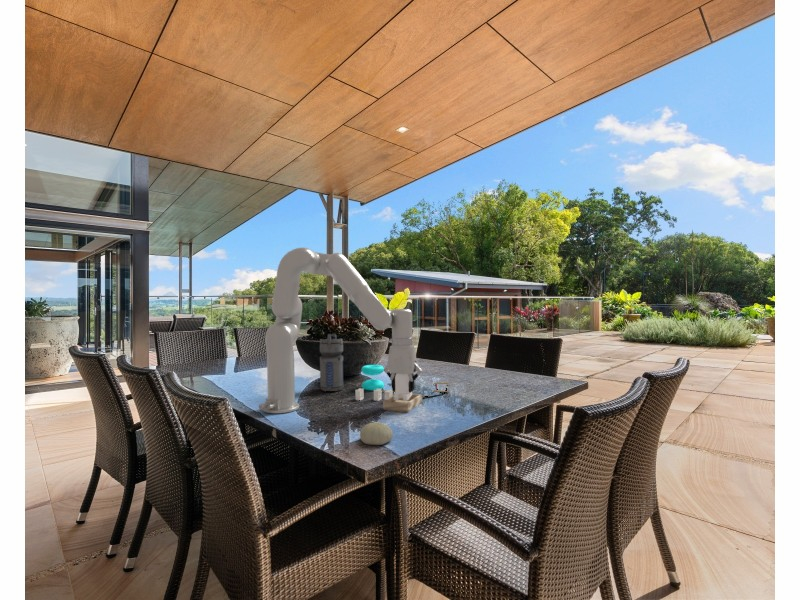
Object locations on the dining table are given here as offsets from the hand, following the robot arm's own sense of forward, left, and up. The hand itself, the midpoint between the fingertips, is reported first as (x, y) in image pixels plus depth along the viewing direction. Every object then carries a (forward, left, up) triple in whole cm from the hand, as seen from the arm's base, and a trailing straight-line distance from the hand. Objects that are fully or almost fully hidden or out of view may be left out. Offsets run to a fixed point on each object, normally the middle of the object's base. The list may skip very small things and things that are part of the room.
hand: (403, 390), depth 150 cm
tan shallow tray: (0, 0, -6) cm, 6 cm away
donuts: (+22, +24, -6) cm, 33 cm away
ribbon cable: (+23, +4, -6) cm, 25 cm away
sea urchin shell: (-37, -7, -6) cm, 38 cm away
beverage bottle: (+14, +40, -6) cm, 43 cm away
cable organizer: (0, 0, -3) cm, 3 cm away
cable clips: (+4, +14, -6) cm, 16 cm away
